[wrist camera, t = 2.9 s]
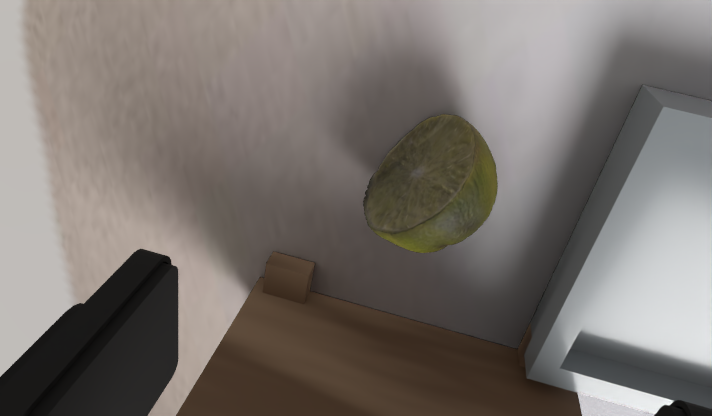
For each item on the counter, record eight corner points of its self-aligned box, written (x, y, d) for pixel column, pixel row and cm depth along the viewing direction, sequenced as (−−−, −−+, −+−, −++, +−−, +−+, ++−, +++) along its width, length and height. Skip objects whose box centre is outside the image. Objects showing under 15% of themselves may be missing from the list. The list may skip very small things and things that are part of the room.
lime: (367, 193, 22) (340, 260, 18) (397, 84, 20) (374, 131, 16) (470, 224, 22) (468, 300, 18) (514, 117, 20) (523, 175, 15)
